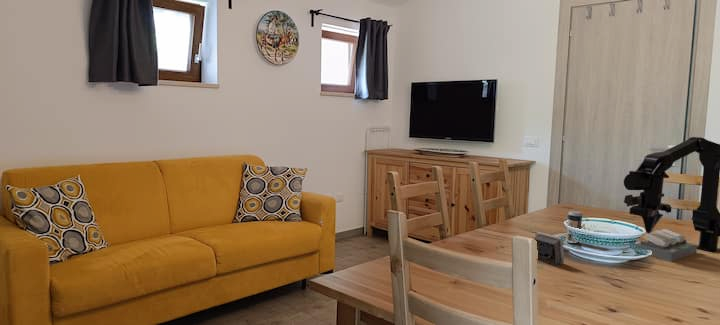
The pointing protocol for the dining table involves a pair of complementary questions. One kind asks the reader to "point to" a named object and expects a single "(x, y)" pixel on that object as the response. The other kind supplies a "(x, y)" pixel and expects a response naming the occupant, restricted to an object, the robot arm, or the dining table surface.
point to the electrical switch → (549, 248)
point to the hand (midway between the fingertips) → (648, 232)
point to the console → (669, 250)
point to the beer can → (573, 223)
